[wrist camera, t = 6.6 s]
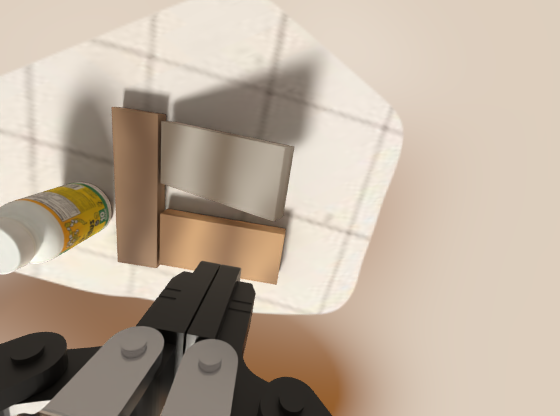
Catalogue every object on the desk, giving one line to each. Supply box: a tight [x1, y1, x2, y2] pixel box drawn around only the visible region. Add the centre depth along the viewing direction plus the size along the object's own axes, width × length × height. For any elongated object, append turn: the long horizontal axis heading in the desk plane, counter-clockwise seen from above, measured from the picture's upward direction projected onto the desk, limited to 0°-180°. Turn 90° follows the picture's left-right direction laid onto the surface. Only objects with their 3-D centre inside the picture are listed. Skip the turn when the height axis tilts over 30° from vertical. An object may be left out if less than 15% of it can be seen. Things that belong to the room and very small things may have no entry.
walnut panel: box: [112, 107, 166, 268], centre depth 27 cm, size 4×15×2 cm, turn 171°
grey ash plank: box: [161, 121, 294, 222], centre depth 23 cm, size 12×6×2 cm, turn 81°
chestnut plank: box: [160, 209, 286, 285], centre depth 28 cm, size 12×6×2 cm, turn 82°
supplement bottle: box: [0, 182, 111, 274], centre depth 24 cm, size 5×5×10 cm
